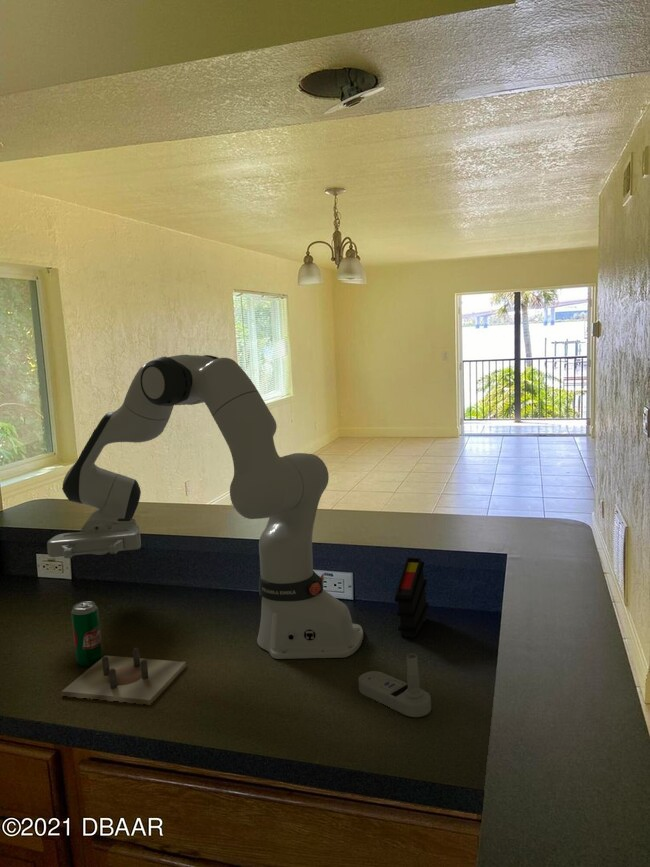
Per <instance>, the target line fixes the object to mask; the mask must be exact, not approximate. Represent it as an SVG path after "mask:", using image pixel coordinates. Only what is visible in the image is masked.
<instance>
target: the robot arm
mask: <svg viewBox="0 0 650 867" xmlns="http://www.w3.org/2000/svg"><path fill="white" fill-rule="evenodd" d="M203 403H204V404H205V406H206V407H207V409H208V410H209V412H210V414H211V416H212V418H213V420H214V422H215V423H216V425H217V427H218V429H219V431H220V433H221V434H222V436H223V438H224V440H225V443H226V444H227V446H228V448H229V452H230V453H231V454H230V455H231V457H232V462H233V477H232V481H231V482H230V486H229V498H230V501H231V504H232V506H233V508H234V510H235V511H236V512H237V513H238V514H239V515H241V516H242V517H244V518H245V519H249V520H258V519H268V521H267V524H266V526H265V528H264V530H263V531H262V533H261V535H260V537H259V540H258V552H259V554H258V556H259V568H260V569H259V570H260V575H259V576H258V594H259V600H260V602H261V612H260V623H259V630H258V635H257V640H256V642H257V644H258V646H259V647H260V649H261V648H262V649H263V650H265V651H267V652H268V653H269V654H270V656H271V657H272V658H273V659H277V660H278V659H280V660H281V659H282V660H285V659H288V660H289V659H291V660H292V659H327V658H328V659H333V658H348V657H350V656H352V655H353V654H355V652H356V651H357V650H359V648H360V647H361V645H362V643H363V641H362V640H364V630H363V627H362V626H361V625H360V624H358V623H354V622H353V619H352V616H351V612H350V610H349V607H348V606H347V605H346V604H345V603H344V602H342V601H341V600H339V599H337V598H336V597H335V596H333V595H332V594H331V593H329V592H328V591H326V590H325V589H324V580H325V575H324V573H322V574H321V576H320V575H319V574H318V573H316V572H315V571H314V565H313V564H314V561H313V532H314V531H313V530H314V527H315V525H314V524H315V520H316V516H317V511H318V507H319V503H320V502H321V501H320V500H321V498H322V495H323V493H324V492H325V491H326V489H327V486H328V484H329V477H330V476H329V470H328V466H327V465H326V463H325V462H324V460H323V459H321V457H319V456H317V455H316V454H313V453H305V452H302V453H301V452H295V453H291V454H287V455H283V456H280V455H279V454H278V452H277V448H276V445H275V440H274V436H275V434H276V432H277V428H278V427H277V426H278V424H277V421H276V419H275V418H274V416H273V414H272V413H271V411H270V409H269V408H268V406H267V404H266V402H265V400H264V399H263V397H262V396H261V394H260V392H259V391H258V389H257V387H256V386H255V384H254V382H253V381H252V380H251V378H250V377H249V376H248V375H247V373H246V372H245V371H244V369H243V368H242V367H241V366H240V365H239V363H237V362H236V361H235V360H234V359H233V358H229V357H218V356H215V355H211V354H209V355H208V354H205V355H199V354H198V355H197V354H195V355H193V354H177V355H171V356H161V357H157V358H154V359H151V360H149V361H148V362H147V363H145V364H143V365H142V366H141V367H140V368H139V369H138V370H137V372H136V373H135V375H134V376H133V379H132V380H131V383H130V385H129V388H128V390H127V392H126V394H125V398H124V400H123V403H122V405H121V406H120V407H119V408H117V409H116V410H115V411H109V412H107V413H105V414H104V416H102V418H101V419H100V421H99V422H98V424H97V426H96V427H95V428H94V430H93V431H92V433H91V435H90V437H89V438H88V441H87V442H86V444H85V446H84V447H83V448H82V451H81V453H80V454H79V455H78V457H77V460H76V462H75V463H74V464H73V465H72V466H71V467H70V468H69V470H68V471H67V473H66V474H65V476H64V479H63V482H62V488H61V489H62V492H63V494H64V495H65V497H66V498H67V500H68V501H69V502H72V503H77V504H83V505H87V506H89V507H93V508H96V509H95V510H94V511H93V512H92V513H91V514H89V515H90V516H88V518H87V520H86V521H85V523H84V524H83V526H82V527H81V529H80V531H77V532H74V531H73V532H65V533H59V534H55V536H53V537H52V538H50V539H49V540H48V541H47V543H46V548H47V549H46V550H47V555H48V556H49V557H50V558H59V557H64V559H70V558H71V559H72V558H73V556H80V555H81V556H82V555H90V554H91V555H95V556H96V555H98V556H101V555H106V554H108V553H109V554H110V555H113V554H114V555H116V554H118V552H121V551H132V550H133V551H135V550H140V549H141V546H142V544H141V542H142V540H141V531H140V530H141V529H140V526H139V525H137V524H138V523H137V521H136V519H135V518H134V515H135V513H136V511H137V509H138V505H139V502H140V499H141V493H142V492H141V487H140V485H139V482H138V480H136V479H134V478H133V477H128V476H127V475H122V474H120V473H117V472H114V471H111V470H108V469H106V468H101V467H100V466H98V465H96V464H95V463H96V461H97V459H98V458H99V457H100V455H101V453H102V451H103V449H104V448H105V447H106V446H107V445H109V444H114V443H115V444H116V443H134V444H137V443H139V444H140V443H145V442H146V443H147V442H149V441H152V440H154V439H156V438H158V437H159V436H160V435H161V434H162V433H163V432H164V431H165V428H166V426H167V425H168V422H169V420H170V417H171V414H172V411H173V409H174V408H175V407H174V406H185V405H186V406H187V405H188V406H190V405H191V406H192V405H198V404H203Z"/></svg>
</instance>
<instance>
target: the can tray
mask: <svg viewBox="0 0 650 867" xmlns="http://www.w3.org/2000/svg"><path fill="white" fill-rule="evenodd" d="M140 657H141V656H140V650H139V647H138V648H137V647H135V648H133V649H132V657H129V656H116V655H115V656H114V655H103V657H102V659H100V660H99V661H98V662H97V663H95V664H94V665H91V666H90V667H89V668H88V669H87V670H86V671H84V672H83V673H82V674H81V675H80V676H78V677H77V678H76V679H74V681H72V682H70V683H69V685H68V686H66V687H65V688H63V690H61V696H62V697H63V696H67V697H66V698H73V697H76V699H83V698H87V699H86V700H93V699H99V700H98V701H103V700H107V701H106V702H113V701H119V702H118V703H123V702H127V703H126V704H133V703H136V704H135V705H143V704H146V705H145V706H151V705H152V704H153V703H154V702H155V701H156V700H157V699H158V698H159V697H160V695H162V693H163V692H164V691H165V690H166V689H167V688H168V687H169V686H170V684H172V683H173V682H174V681H175V680H176V679H177V677H178V676H179V675H180V674H181V673H182V672H183V671H184V670H185V669H186V668H187V662H186V661H176V660H166V659H165V660H164V659H153V658H140ZM89 698H90V699H89ZM153 701H154V702H153ZM151 703H152V704H151Z"/></svg>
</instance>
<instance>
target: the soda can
mask: <svg viewBox="0 0 650 867" xmlns="http://www.w3.org/2000/svg"><path fill="white" fill-rule="evenodd" d="M70 612H71V613H70V614H71V623H72V624H71V625H72V633H73V643H74V652H75V660H76V664H77V665H79V666H81V667H92V666H93V665H94V664H95V663H97V662H98V661H99V660H100V659H102V658H103V657H104V655H103V647H102V637H101V627H100V616H99V607H98V606H97V605H96V602H94V601H91V600H90V601H87V600H85V601H80V602H78V603H76V604H74V605H73V606H72V610H71V611H70Z"/></svg>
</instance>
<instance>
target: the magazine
mask: <svg viewBox="0 0 650 867" xmlns="http://www.w3.org/2000/svg"><path fill="white" fill-rule="evenodd" d="M405 560H406V561H405V564H404V567H403V570H402V572H401V576H400V579H399V582H398V584H397V589H396V591H395V596H394V602H395V603H398V604H397V605H398V610H397V613H396V614H397V616H398V617H399V619H400V620H399V623H400V624H399V626H398V629H397V630H398V632H400V637H401V636H407V637H415V636H416V637H417V635H418V633H419V632H420V630H421V628H422V627H421V625H422V623H423V622H424V619H425V618H426V616H427V617H428V614H427V611H428V609H429V607H430V606H429V602H427V595H426V588H427V587H426V586H427V583H428V580H427V579H426V578H425V576H424V574H425V573H424V568H425V567H424V566H425V562H424V561H422V559H421V558H419V557H407V558H406V559H405ZM426 619H427V618H426ZM424 623H425V622H424ZM424 623H423V624H424ZM422 626H423V625H422ZM420 627H421V628H420ZM419 629H420V630H419ZM418 631H419V632H418ZM417 632H418V633H417ZM416 634H417V635H416ZM407 637H406V638H407ZM416 637H415V638H416Z"/></svg>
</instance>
